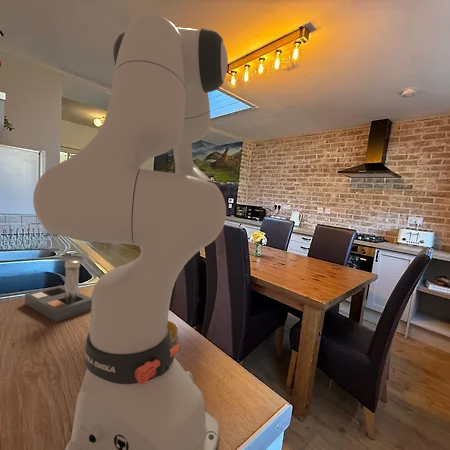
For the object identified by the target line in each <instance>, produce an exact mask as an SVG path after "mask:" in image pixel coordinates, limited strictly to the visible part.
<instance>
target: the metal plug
mask: <svg viewBox="0 0 450 450" xmlns="http://www.w3.org/2000/svg"><path fill="white" fill-rule="evenodd" d="M64 268H65V277H64V278H65V279H64V281H65V282H64V283H65V284H64V286H65V304H67V305H68V304H71V303H74V302H77V301H78V293H79V277H80V268H81V260H79V259H69V260H66V261H64Z"/></svg>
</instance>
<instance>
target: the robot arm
mask: <svg viewBox="0 0 450 450" xmlns="http://www.w3.org/2000/svg"><path fill="white" fill-rule="evenodd" d="M112 52H113V62H114V71H113V78H112V84H111V91H110V97H109V102H108V105H107V106H108V107H107V110H106V114H105V118H104V120H103V123H102V125H101V127H100V128H99V129H98V131H97V133H96V134H95V135H94V136H93V138H92V139H91V140H90V141H89V142H88V143H87V144H86V145H85V146H84V147H82V149H80V150H79V151H77V153H76V154H74V155H72V156H70V157H69V158H67V159H65V160H64V161H61V162H59V163H57V164H54V165H52V166H50V167H49V168H48V169H47V170H45V171H44V172H43V174H42V175H41V176H40V177H39V178H38V180H37V183H36V185H35V187H34V192H33V200H32V201H33V208H34V212H35V215H36V216H37V219H38V220H39V223H41V224H40V225H42V226H43V227H44V229H45V230H46V231H47V232H48V233H51V234H54V235H57V236H58V235H59V236H61V237H64V238H69V239H74V240H76V241H82V242H88V243H89V242H90V243H103V244H119V245H122V244H123V245H134V246H137V247H139V248H140V255H139V256H138V257H137V258H136V259H134V260H133V261H130V262H128V263H125V264H123V265H122V264H121V265H120V266H117V267H115V268H113V269H111V270H110V271H107V272H106V273H105V274H103V275H102V276H101V277H100V278H98V280H97V282H95V285H94V287H93V289H92V292H91V298H92V301H91V310H90V324H89V326H90V328H89V332H88V334H87V337H86V340H85V341H86V342H85V345H84V355H85V356H84V364H85V367H86V371H85V373H84V377H83V379H82V382H81V386H80V388H79V391H78V394H77V398H76V404H75V411H74V417H73V424H72V430H71V436H70V440H69V441H68V443H67V444H66V447H65V449H64V450H217V449H218V448H217V447H218V445H219V437H220V431H219V430H220V429H219V428H220V425H219V422H218V421H217V420H216V419H215V418H214V417H213V416H212V415H211V414H209V412H207V411H206V402H205V398H204V395H203V394H204V393H203V392H202V390H201V389H200V388H199V387H198V385H196V383H195V382H194V376H193V374H192V372H190V371H188V370H185V369H184V367H183V365H181V364H180V363H179V361H178V360H177V358H176V357H175V354H177V353H178V352H179V351H180V348H179V347H180V345H181V343H180V342H179V343H177V344H175V345H173V343H172V342H171V338H170V334H169V330H168V328H167V322H168V321H169V320H168V319H169V312H170V305H171V301H172V300H171V298H172V294H173V290H174V287H175V283H176V281H177V278H178V277H179V275H180V273H181V271H182V270H183V268H184V267H185V266H186V265H187V263H188V262H189V261H190V260H191V259H192V258H193V257H194V256H195V255H196V254H198V252H200V251H201V250H203V248H205V247H207V246H209V245H210V244H212V243H213V242H214V241H215V240H216V239H217V238H218V236H219V235H220V234H221V232H222V230H223V229H224V225H225V222H226V218H227V205H226V201H225V198H224V195H223V193H222V191H221V190H220V189H219V187H218V186H217V185H216V183H215V182H214V181H213V180H212V179H211V178H210V177H208V175H206V174H205V173H204V172H203V171H201V170H200V169H199V167H198V166H197V165H196V163H195V162H194V160H193V148H192V146H193V145H192V144H194V143H197V142H199V141H201V140H202V139H204V138H205V137H206V136H207V135H208V133H209V132H210V129H211V128H210V127H211V106H210V100H209V99H210V98H209V93H210V92H214V91H217V90H219V88H221V87H222V85H224V80H225V78H226V75H227V72H228V63H229V62H228V61H229V60H228V54H227V53H228V52H227V48H226V47H225V43H224V40H223V37H222V36H221V35H220V34H219V32H217V31H215V30H213V29H212V30H211V29H210V28H209V29H208V28H202V27H201V28H200V29H193V28H183V27H182V28H181V27H176V26H175V25H174V24H173V23H172V22H171V21H170V20H168V19H167V18H165V17H163V16H161V15H159V14H155V13H143V14H140V15H137V16H136V17H134V18H133V19H132V20H131V21H130V22H129V23H128V25H127V28H126V30H125V31H124V32H122V33H119V35H118V36H117V39H116V40H115V41H114V44H113V51H112ZM170 151H171V152H172V159H173V165H172V172H167V171H160V170H152V169H143V168H141V167H142V166H143V164H145V163H146V162H147V161H148V160H150V159H152V158H155V157H159V156H161V155H164V154H166V153H168V152H170Z"/></svg>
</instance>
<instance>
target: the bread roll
mask: <svg viewBox="0 0 450 450" xmlns="http://www.w3.org/2000/svg"><path fill="white" fill-rule="evenodd" d="M167 328H168V330H169V334H170V338H171V342H172V344H174V343H175V342H176V340H177V338H178V330H179V327H178V326H177V325H176V323H174V322H172V321H171V320H168V322H167Z"/></svg>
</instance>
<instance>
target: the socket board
mask: <svg viewBox="0 0 450 450" xmlns="http://www.w3.org/2000/svg"><path fill="white" fill-rule="evenodd" d="M91 301H92V297H89V296H87V295H85V294H82V293H81V292H78V301H77V302H74V303H71V304H68V305H67V304H65V285H62V284H60V285H56V286H52V287H48V288H44V289H41V290H35V291H32V292H28V293H24V305H26V306H28V307H29V308H31V309H33V310H35V311H36V312H38V313H40V314H42V315H43V316H45V317H46V318H48V319H50V320H52V321H53V322H55V323H58V322H61V321H63V320H67V319H69V318H71V317H74V316H77V315H80V314H83V313H85V312H89V311H91ZM88 310H89V311H88Z"/></svg>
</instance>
